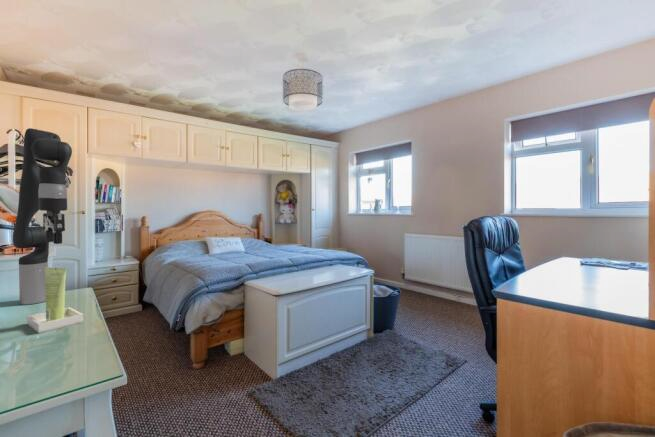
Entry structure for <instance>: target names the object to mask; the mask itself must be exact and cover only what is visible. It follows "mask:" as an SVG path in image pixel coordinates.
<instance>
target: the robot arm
mask: <svg viewBox="0 0 655 437" xmlns="http://www.w3.org/2000/svg"><path fill="white" fill-rule="evenodd" d="M22 154H23V155H22V156H23V157H22V159H23V160H22V169H21V170H22V171H21V177H20V184H19V191H18V192H19V194H18V206H17V213H16V214H17V215H16V218H15V223H14V228H13V231H12V232H13V233H12V243H13V246H14V247H15V248H16V249H32V248H34V249H33V251H31V252H30V253H29V252H28V254H26V255H23V256H20V257H19V258H18V280H19V281H18V289H19V305H34V304H40V303H43V302H46V279H45V267H49V262H48V261H49V260H48V259H49V254H50V253H49V252H50V251H49V250H50V243H53V244H56V245H60V244H63V233H64V232H65V231H66V226H65V225H66V221H65V217H66V216H65V215H66V214H65V213H61V211H63V212H64V211H68V188H67V170H68V165H69V163H70V160H71V157H72V155H73V149H72V147H71V145H70V144H69V143H68V142H65V141H62V139H61V137H60V135H58V133H54V132H51V131H45V130H41V129H37V128H31V127H30V128H27V129H26V130H25V132H24V136H23V152H22ZM36 159H37V160H43V161H53V162H58V164H56V165H54V166H44V167H43V166H42V167H41V168H40V166H39V163H38V162H37V161H36ZM39 211H42V212H43V211H45V212H46V213H43V214H42V220H43V221H42V226H30V224H31V221H32V219H33V218H34V216H35V215H36V214H37V213H38V212H39Z"/></svg>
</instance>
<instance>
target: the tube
mask: <svg viewBox="0 0 655 437" xmlns="http://www.w3.org/2000/svg"><path fill="white" fill-rule="evenodd" d="M66 278H67V267H50V266H48V267H45V279H46V301H45V312H46V322H49V321H53V320H58V319H62V318H64V315H65V308H66V304H65V301H66Z"/></svg>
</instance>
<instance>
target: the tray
mask: <svg viewBox="0 0 655 437" xmlns="http://www.w3.org/2000/svg"><path fill="white" fill-rule="evenodd" d="M84 319H85V318H84V313H82V312H80V311H78V310H76V309H74V308H72V307H69V306H68V307H65V315H64V318H62V319H58V320H53V321H49V322H46V311H44V312H40V313H34V314H31V315H26V320H27V321H26V322H27V323H26V324H27V325H28V326H29V327H30V328H31V329H33V330H34V331H35V332H37V333H38V334H41V333H42V334H43V333H48V332H51V331H55V330H58V329H63V328H67V327H71V326H75V325H78V324H79V325H80V324H83V323H84V322H85V321H84Z"/></svg>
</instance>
